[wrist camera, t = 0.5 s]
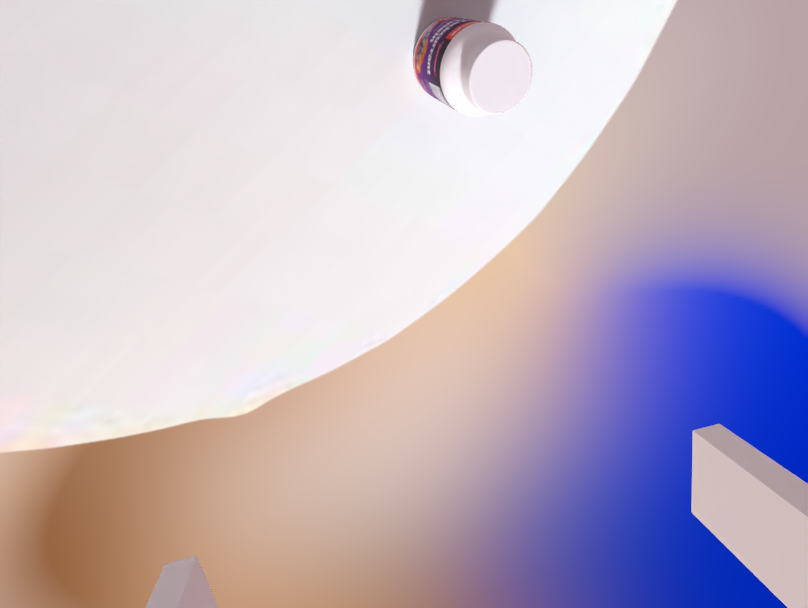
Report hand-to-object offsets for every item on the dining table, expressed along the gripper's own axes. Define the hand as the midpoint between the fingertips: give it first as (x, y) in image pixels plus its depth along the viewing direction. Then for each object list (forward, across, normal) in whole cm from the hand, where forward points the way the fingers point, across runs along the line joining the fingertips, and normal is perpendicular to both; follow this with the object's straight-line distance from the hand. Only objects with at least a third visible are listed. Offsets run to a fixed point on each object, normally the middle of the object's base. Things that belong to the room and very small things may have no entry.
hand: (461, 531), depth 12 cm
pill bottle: (+28, +8, +16) cm, 33 cm away
